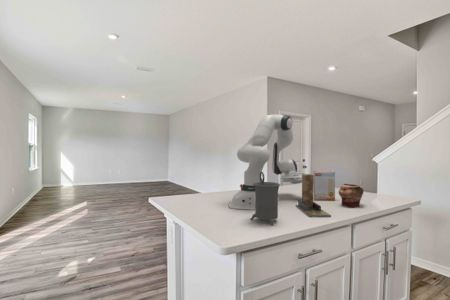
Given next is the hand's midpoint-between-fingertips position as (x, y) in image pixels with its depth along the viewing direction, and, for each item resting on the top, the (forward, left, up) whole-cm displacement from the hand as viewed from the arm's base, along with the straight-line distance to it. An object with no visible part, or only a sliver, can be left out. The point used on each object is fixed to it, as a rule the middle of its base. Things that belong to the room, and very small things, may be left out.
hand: (299, 180), depth 172 cm
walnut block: (0, -16, -14) cm, 22 cm away
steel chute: (0, -23, -15) cm, 28 cm away
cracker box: (+21, +9, -16) cm, 27 cm away
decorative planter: (+32, -9, -16) cm, 37 cm away
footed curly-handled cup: (-31, -42, -16) cm, 55 cm away
